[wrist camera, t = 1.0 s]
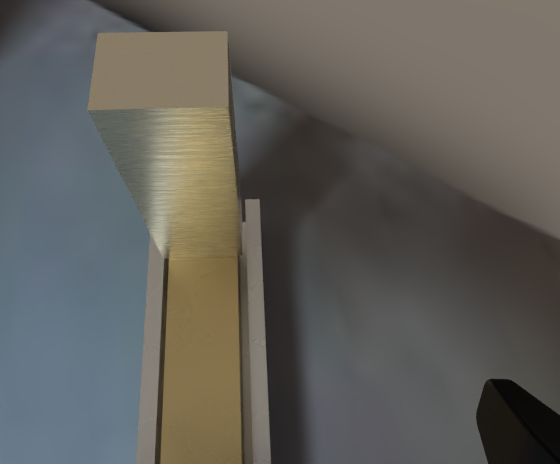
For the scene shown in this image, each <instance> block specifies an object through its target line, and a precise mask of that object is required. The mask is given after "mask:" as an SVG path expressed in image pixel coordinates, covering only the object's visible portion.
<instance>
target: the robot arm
mask: <svg viewBox="0 0 560 464" xmlns="http://www.w3.org/2000/svg"><path fill="white" fill-rule="evenodd" d="M476 420H477V426H478V430H479V433H480V436H481V440H482V443H483V447H484V450H485V454H486V457H487V461H488V464H560V415H559V414H557V413H556V412H555V411H553V410H552V409H550V408H549V407H548V406H546V405H545V404H544V403H542V402H541V401H539V400H538V399H537V398H535V397H534V396H533V395H531V394H530V393H529V392H527V391H526V390H524V389H523V388H522V387H520V386H519V385H518V384H516V383H515V382H513V381H512V380H508V379H489V380H487V381H486V383H485V385H484V388H483V391H482V395H481V398H480V402H479V405H478V408H477V413H476Z"/></svg>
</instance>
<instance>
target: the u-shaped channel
mask: <svg viewBox="0 0 560 464" xmlns="http://www.w3.org/2000/svg"><path fill="white" fill-rule="evenodd" d="M245 211H246V222H242V238H243V255H240V295H241V339H242V382H243V426H244V464H271V452H270V429H269V406H268V384H267V361H266V338H265V315H264V292H263V269H262V246H261V223H260V200H259V199H245ZM168 271H169V258H163V257H162V255H161V253H160V251H159V249H158V247H157V245H156V243H155V241H154V239H153V237H152V235H151V233H150V246H149V263H148V279H147V295H146V312H145V328H144V344H143V361H142V377H141V393H140V410H139V426H138V443H137V459H136V464H160V460H161V436H162V412H163V389H164V365H165V342H166V318H167V295H168Z"/></svg>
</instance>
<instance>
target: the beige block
mask: <svg viewBox="0 0 560 464" xmlns="http://www.w3.org/2000/svg"><path fill="white" fill-rule="evenodd" d="M88 112H89V114H90V116H91V118H92V120H93V122H94V124H95V126H96V128H97V130H98V132H99V133H100V135H101V137H102V139H103V141H104V143H105V145H106V147H107V149H108V151H109V153H110V155H111V157H112V159H113V161H114V163H115V165H116V167H117V169H118V171H119V173H120V175H121V177H122V179H123V180H124V182H125V184H126V186H127V188H128V190H129V192H130V194H131V196H132V198H133V200H134V202H135V204H136V206H137V208H138V210H139V212H140V214H141V216H142V218H143V220H144V222H145V224H146V226H147V227H148V229H149V231H150V233H151V235H152V237H153V239H154V241H155V243H156V245H157V247H158V249H159V251H160V253H161V255H162V257H163V258H169V271H168V295H167V318H166V342H165V365H164V389H163V412H162V436H161V460H160V464H244V426H243V382H242V339H241V295H240V255H243V238H242V202H241V190H240V178H239V166H238V153H237V141H236V129H235V117H234V105H233V92H232V80H231V68H230V57H229V44H228V32H227V31H216V32H143V33H98V37H97V45H96V52H95V59H94V67H93V74H92V81H91V89H90V96H89V103H88Z"/></svg>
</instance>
